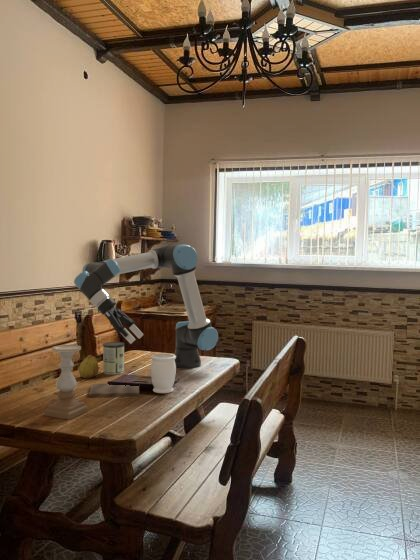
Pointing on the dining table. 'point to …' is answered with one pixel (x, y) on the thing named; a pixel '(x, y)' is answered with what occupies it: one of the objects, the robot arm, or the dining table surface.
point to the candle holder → (66, 387)
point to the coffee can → (113, 358)
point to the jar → (163, 372)
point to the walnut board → (113, 390)
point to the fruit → (88, 367)
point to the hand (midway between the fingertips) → (137, 339)
